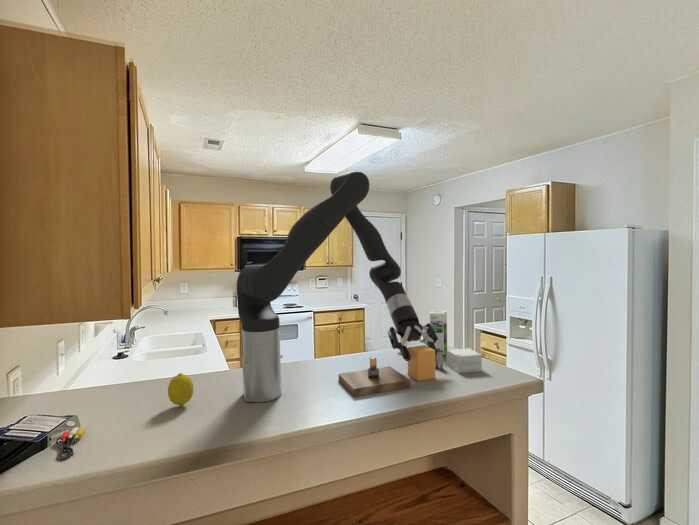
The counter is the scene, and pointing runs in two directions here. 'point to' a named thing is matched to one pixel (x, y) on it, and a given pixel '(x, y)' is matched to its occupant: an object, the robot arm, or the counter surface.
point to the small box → (464, 360)
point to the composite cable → (69, 441)
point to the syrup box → (440, 329)
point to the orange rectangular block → (421, 362)
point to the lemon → (180, 389)
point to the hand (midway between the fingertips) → (422, 357)
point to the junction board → (373, 381)
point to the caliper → (439, 356)
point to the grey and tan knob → (373, 369)
